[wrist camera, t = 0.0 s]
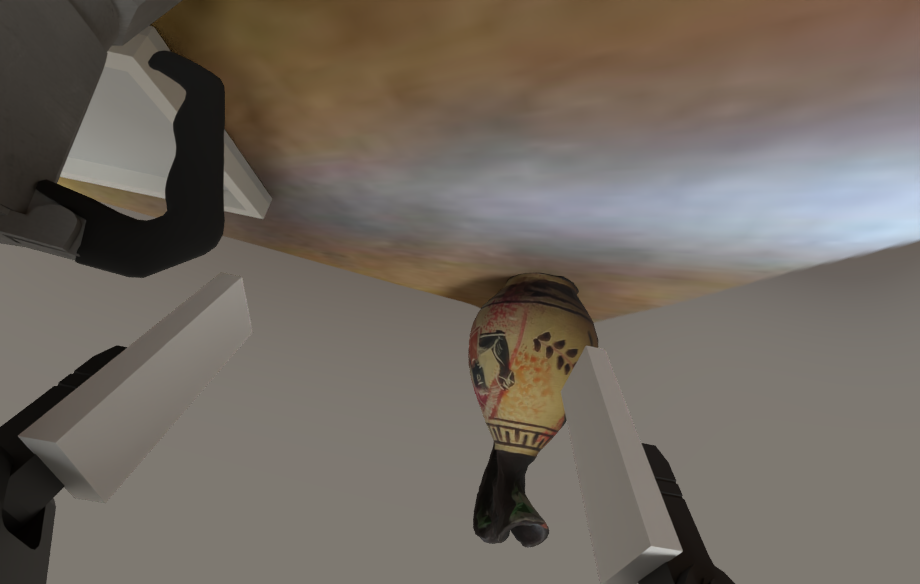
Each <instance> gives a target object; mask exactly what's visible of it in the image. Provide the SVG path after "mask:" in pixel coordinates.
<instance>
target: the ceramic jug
mask: <svg viewBox="0 0 920 584" xmlns="http://www.w3.org/2000/svg"><path fill="white" fill-rule="evenodd" d="M578 292H579V291H578V289H577V287H576V286H575V285H574V283H573V282H571V281H570V280H568V279H566V278H564V277H554V276H551V275H547V274H542V273H525V274H520V275H517V276H515V277H512V278H510V279H509V280H508V282H507V283H506V285H505V286H504V287H503V288H502V289H501V290H500V291H499V293H497V294H496V295H495V296H494V297H493V298H491V299H490V300H489V301H488V302H487V303H485V304H484V305H483V306H482V308H481V310H480V311H479V313H478V315H477V317H476V318H475V320H474V322H473V326H472V329H471V333H470V339H469V354H468V357H469V368H470V375H471V380H472V383H473V386H474V391H475V394H476V396H477V399H478V402H479V405H480V407H481V410H482V413H483V416H484V418H485V421H486V424H487V426H488V428H489V431H490V433H491V435H492V437H493V440H494V445H493V449H492V452H491V455H490V459H489V462H488V465H487V467H486V469H485V472H484V474H483V477H482V482H481V485H480V486H479V492H478V494H477V499H476V504H475V509H474V518H473V525H474V526H473V528H474V531H475V534H476V535H477V536H479V537H480V538H481V539H482V540H483V541H484V542H487V543H492V544H495V543H502V542H504V541H505V540H506V539H507V538H508V536H509V533H510V530H511V532H512V533H513V535H514V536H515V538H516V539H517V540H518V541H520V542H521V544H522V545H523V546H525V547H533V546H536V545H539V544H540V543H542V542H543V541H544V540H545V539H546V538H547V536H548V534H549V529H548V526H547V525H546V523H545V521H544V520H543V519H542V518H541V516H540V515H539V514H538V512H537V511H536V510H535V509H534V507H533V506H532V505H531V503H530V501H529V500H528V498H527V497H526V495H525V473H526V471H527V467H528V465H529V464H530V463H532V462H533V461H534V460H535V458H536V456H537V454H538V452H539V451H540V450H541V449H542V448H543V447H544V446H545V445H546V444H547V443H548V442H549V441H550V440H551V439H552V438H553V437H554V436H555V435H556V434H557V432H558V431H559V430H560V429H561V428H562V426H563V425H564V424H565V422H566V421H567V420H566V415H565V410H564V405H563V400H562V396H561V390H562V388H563V387H564V385H565V383H566V381H567V379H568V377H569V376H570V374H571V372H572V370H573V368H574V367H575V365H576V363H577V361H578V359H579V357H580V356H581V354H582V352H583V350H584V348H585V347H586V346H591V347H596V348H598V338H597V334H596V331H595V328H594V324H593V321H592V319H591V318H590V316H589V314H588V312H587V310H586V309H585V307H584V306H583V304H582V303H581V301H580V300H579V298H578V297H577V294H578Z"/></svg>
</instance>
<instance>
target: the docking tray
mask: <svg viewBox="0 0 920 584" xmlns="http://www.w3.org/2000/svg"><path fill="white" fill-rule="evenodd" d="M164 50H165V51H170V49H169V48H168V46H167V45H166V44H165V42H164V41H163V39H162V38H161V36H160V35H159V33H158V32H157V30H156V29H155V28H154V27H153V26H148V27H147V28H145V29H144V30H143V31H141V32H140V33H139V34H137V35H136V36H135V37H133V38H132V39H131V40H130V41H128V42H127V43H126V44H124V45H123V46H113V45H112V46H111V47H110V49H109V50H108V51H107V53H108V54H107V59H106V63H105V66H104V69H103V72H102V74H101V77H100V79H99V82H98V84H97V87H96V89H95V92H94V94H93V96H92V99H91V101H90V104H89V106H88V109H87V111H86V114H85V116H84V118H83V121H82V123H81V126H80V128H79V131H78V133H77V135H76V138H75V140H74V143H73V145H72V148H71V150H70V153H69V155H68V157H67V160H66V162H65V165H64V167H63V170H62V172H61V175H60V177H64V178H69V179H74V180H79V181H83V182H88V183H93V184H98V185H103V186H107V187H112V188H117V189H122V190H126V191H131V192H136V193H141V194H146V195H150V196H155V197H160V198H165V187H166V181H167V178H168V174H169V171H170V169H171V166H172V163H173V161H174V158H175V155H176V142H175V137H174V132H173V121H174V119H175V116H176V114H177V112H178V110H179V108H180V107H181V105H182V103H183V102H184V100H185V96H186V91H185V90H184V89H183V88H182V87H181V86H180V85H179V84H178V83H176V82H175V81H174V80H172V79H171V78H169V77H167V76H166V75H164V74H163V73H161V72H159V71H157V70H153V69H152V68H151V67H149V64H148V61H149V60H150V58H151V57H152V55H153V54H154V53H156V52H158V51H164ZM170 52H171V51H170ZM271 201H272V198H271V196H270V195H269V193H268V192H267V190H266V189H265V187H264V186H263V184H262V183H261V182H260V180H259V179H258V177H257V176H256V174H255V173H254V171H253V170H252V168H251V167H250V166H249V164H248V163H247V161H246V160H245V158H244V157H243V155H242V154H241V152H240V151H239V150H238V148H237V147H236V145H235V144H234V142H233V141H232V139H231V138H230V136H229V135H228V134H227V132H226V131H225V129H224V211H227V212H231V213H236V214H241V215H246V216H251V217H255V218H260V219H264V217H265V215H266V213H267V210H268V208H269V206H270V203H271Z"/></svg>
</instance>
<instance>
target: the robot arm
mask: <svg viewBox="0 0 920 584" xmlns="http://www.w3.org/2000/svg"><path fill="white" fill-rule="evenodd" d="M252 332H253V331H252V326H251V321H250V315H249V310H248V305H247V300H246V295H245V290H244V285H243V279H242V277H241V276H236V275H231V274H226V273H220V274H218V275H217V276H216V277H215V278H213V279H212V280H211V281H210V282H208V283H207V284H206V285H205V286H203V287H202V288H201V289H200V290H198V291H197V292H196V293H195V294H194V295H192V296H191V297H190V298H188V299H187V300H186V301H185V302H183V303H182V304H181V305H180V306H178V307H177V308H176V309H175V310H174V311H172V312H171V313H170V314H169V315H167V316H166V317H165V318H164V319H162V320H161V321H160V322H159V323H157V324H156V325H155V326H154V327H152V328H151V329H150V330H149V331H147V332H146V333H145V334H144V335H143V336H141V337H140V338H139V339H138V340H137V341H135V342H134V343H132V344H131V345H130V346H129V347H123V346H115V347H112V348H110V349H108V350H106V351H104V352H102V353H100V354H98V355H95V356H94V357H92V358H91V359H89V360H88V361H87V362H85V363H84V364H83V365H81V366H80V367H79V368H78V369H76V370H75V371H74V373H73V374H70V375H68V376H67V377H66V378H64V379H63V380H62V381H60V382H59V384H58V386H54V387H52V388H51V389H50V390H48V391H47V392H46V393H45V394H43V395H42V396H41V397H39V398H38V399H37V400H35V401H34V402H33V403H31V404H30V405H29V406H27V407H26V408H25V409H23V410H22V411H21V412H19V413H18V414H17V415H15V416H14V417H13V418H12V419H10V420H9V421H8V422H6V423H5V424H4V425H2V426H1V427H0V584H46V580H47V572H48V564H49V556H50V548H51V541H52V533H53V525H54V517H55V509H56V506H55V501H54V499H53V497H54V496H55V495H56V494H57V493H58V492H59V491H60V490H61V489H62V488H63V487H65V488H66V489H67V490H68V492H69V493H70V494H71V495H72V496H73V497H74V498H78V499H83V500H89V501H96V502H101V503H106V502H107V501H108V499H110V497H111V496H112V495H113V494H114V493H115V492H116V490H117V489H118V488H119V487H120V486H121V485H122V484H123V482H124V481H125V480H126V479H127V478H128V477H129V475H130V474H131V473H132V472H133V471H134V470H135V468H136V467H137V466H138V465H139V464H140V463H141V461H142V460H143V459H144V458H145V457H146V456H147V454H148V453H149V452H150V451H151V450H152V449H153V447H154V446H155V445H156V444H157V443H158V442H159V441H160V439H161V438H162V437H163V436H164V435H165V433H166V432H167V431H168V430H169V429H170V428H171V427H172V425H173V424H174V423H175V422H176V421H177V420H178V418H179V417H180V416H181V415H182V414H183V413H184V411H185V410H186V409H187V408H188V407H189V406H190V405H191V403H192V402H193V401H194V400H195V399H196V398H197V396H198V395H199V394H200V393H201V392H202V391H203V389H204V388H205V387H206V386H207V385H208V383H209V382H210V381H211V380H212V379H213V378H214V377H215V375H216V374H217V373H218V372H219V371H220V370H221V368H222V367H223V366H224V365H225V364H226V363H227V362H228V360H229V359H230V358H231V357H232V355H234V353H235V352H236V351H237V350H238V349H239V348H240V346H241V345H242V344H243V343H244V342H245V341H246V339H247V338H248V337H249V336H250V335H251V334H252ZM561 396H562V400H563V405H564V410H565V415H566V420H567V425H568V429H569V435H570V439H571V444H572V449H573V454H574V459H575V464H576V469H577V474H578V478H579V483H580V488H581V493H582V498H583V503H584V508H585V512H586V517H587V522H588V527H589V532H590V536H591V541H592V546H593V551H594V556H595V561H596V566H597V571H598V576H599V581H600V584H637V583H638V584H735V583H734V582H733V581H732V580H731V579H730V578H729V577H728V576H727V575H726V574H725V573H724V572H723V571H721V570H720V569H718V568H717V567H715V566H714V564H713V563H712V561H711V559H710V557H709V555H708V553H707V551H706V548H705V546H704V544H703V541H702V539H701V537H700V534H699V532H698V530H697V527H696V525H695V523H694V521H693V518H692V516H691V514H690V511H689V509H688V507H687V504H686V502H685V500H684V499H683V498H682V493H681V491H680V488H679V486H678V484H676V479H675V477H674V475H673V472H672V470H671V467H670V465H669V463H668V461H667V460H666V459H665V458H664V456H663V455H662V454H661V452H660V451H659V450H658V449H657V447H656V446H654V445H649V444H643V443H641V441H640V438H639V436H638V434H637V431H636V428H635V426H634V423H633V420H632V418H631V415H630V413H629V410H628V408H627V405H626V402H625V400H624V397H623V394H622V392H621V389H620V387H619V384H618V381H617V379H616V376H615V374H614V371H613V368H612V366H611V363H610V361H609V358H608V356H607V353H606V350H605V349H600V348H596V347H591V346H586V347H585V348H584V350H583V352H582V354H581V356H580V357H579V359H578V361H577V363H576V365H575V367H574V368H573V370H572V372H571V374H570V376H569V377H568V379H567V381H566V383H565V385H564V387H563V388H562V390H561Z"/></svg>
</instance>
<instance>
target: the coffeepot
mask: <svg viewBox="0 0 920 584" xmlns="http://www.w3.org/2000/svg"><path fill="white" fill-rule="evenodd" d="M181 1H182V0H0V243H2V244H9V245H15V246H22V247H27V248H31V249H34V250H39V251H42V252H46V253H50V254H53V255H57V256H61V257H64V258H68V259H72V260H75V261H76V262H77V263H79V264H83V265H87V266H90V267H94V268H98V269H101V270H105V271H109V272H112V273H116V274H120V275H123V276H127V277H140V278H144V277H147V276H149V275H152V274H155V273H157V272H160V271H162V270H165V269H168V268H170V267H173V266H176V265H178V264H181V263H183V262H186V261H189V260H191V259H194V258H197V257H199V256H202V255H204V254H206V253H207V252H209V251H210V250H211V249H213V248H215V247H216V246H217V244H218V242H219V240H220V239H221V237H222V235H223V230H224V222H225V219H224V128H225V91H224V85H223V83H222V81H221V79H220V78H218V77H217V76H216V75H214V74H213V73H211V72H210V71H208V70H207V69H205V68H203V67H202V66H200V65H198V64H196V63H194V62H192V61H190V60H188V59H187V58H185V57H183V56H180V55H178V54H176V53H173V52H170V51H165V50H164V51H158V52H156V53H154V54H153V55H152V57H151V58H150V60H149V61H148V64H149V67H151V68H152V69H153V70H157V71H159V72H161V73H163V74H164V75H166V76H167V77H169V78H171V79H172V80H174V81H175V82H176V83H178V84H179V85H180V86H181V87H182V88H183V89H184V90H185V91H186V96H185V100H184V102H183V103H182V105H181V107H180V108H179V110H178V112H177V114H176V116H175V119H174V121H173V132H174V137H175V142H176V155H175V158H174V161H173V163H172V166H171V169H170V171H169V174H168V178H167V181H166V187H165V199H166V203H167V212H166V213H165V214H164V215H163V216H160V217H158V218H155V219H152V220H148V221H144V220H137V219H134V218H132V217H129V216H126V215H124V214H121V213H119V212H117V211H115V210H113V209H111V208H109V207H107V206H105V205H103V204H102V203H100V202H98V201H96V200H94V199H92V198H90V197H87V196H85V195H82V194H80V193H78V192H75V191H73V190H71V189H68V188H66V187H63V186H61V185H59V184H57V182H58V179H59V177H60V175H61V172H62V170H63V167H64V165H65V162H66V160H67V157H68V155H69V153H70V150H71V148H72V145H73V143H74V140H75V138H76V135H77V133H78V131H79V128H80V126H81V123H82V121H83V118H84V116H85V114H86V111H87V109H88V106H89V104H90V101H91V99H92V96H93V94H94V92H95V89H96V87H97V84H98V82H99V79H100V77H101V74H102V72H103V69H104V66H105V63H106V59H107V54H108V53H107V51H108V50H109V49H110V47H111V46H112V45H113V46H123V45H124V44H126V43H127V42H128V41H130V40H131V39H132V38H133V37H135V36H136V35H137V34H139V33H140V32H141V31H143V30H144V29H145V28H147V27H148V26H149V25H150V24H152V23H153V22H154V21H156V20H157V19H158V18H160V17H161V16H162V15H164V14H165V13H166V12H168V11H169V10H170V9H171V8H173V7H174V6H175V5H177V4H178V3H179V2H181Z"/></svg>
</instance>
